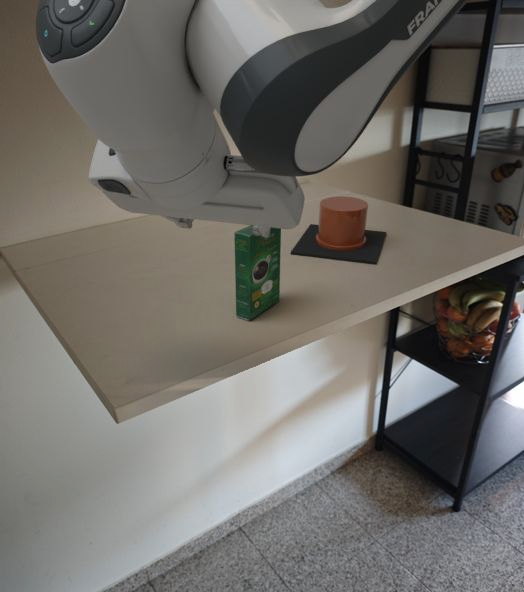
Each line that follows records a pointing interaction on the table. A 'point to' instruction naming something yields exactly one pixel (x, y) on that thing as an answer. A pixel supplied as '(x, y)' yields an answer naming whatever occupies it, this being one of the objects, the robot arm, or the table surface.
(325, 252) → the mat
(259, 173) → the robot arm
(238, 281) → the coffee box
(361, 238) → the stand
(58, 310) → the table surface
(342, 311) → the table surface
